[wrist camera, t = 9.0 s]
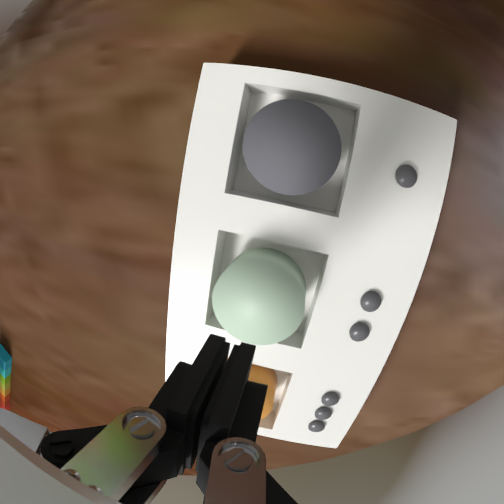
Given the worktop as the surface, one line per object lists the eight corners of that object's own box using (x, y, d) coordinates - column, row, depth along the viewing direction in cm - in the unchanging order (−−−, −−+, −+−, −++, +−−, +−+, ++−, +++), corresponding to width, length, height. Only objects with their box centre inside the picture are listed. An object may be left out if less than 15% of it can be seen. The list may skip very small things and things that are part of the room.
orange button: (217, 344, 21) (206, 364, 18) (284, 362, 20) (280, 383, 18) (210, 391, 22) (200, 411, 20) (269, 407, 21) (264, 429, 19)
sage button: (230, 239, 17) (218, 250, 15) (314, 258, 17) (315, 273, 14) (219, 312, 19) (207, 332, 16) (294, 331, 18) (291, 353, 16)
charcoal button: (259, 101, 16) (252, 92, 13) (343, 118, 15) (349, 110, 13) (244, 182, 17) (234, 184, 15) (327, 199, 17) (330, 205, 14)
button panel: (219, 76, 17) (202, 61, 14) (437, 125, 15) (458, 119, 12) (178, 384, 24) (164, 408, 21) (335, 422, 22) (336, 450, 19)
